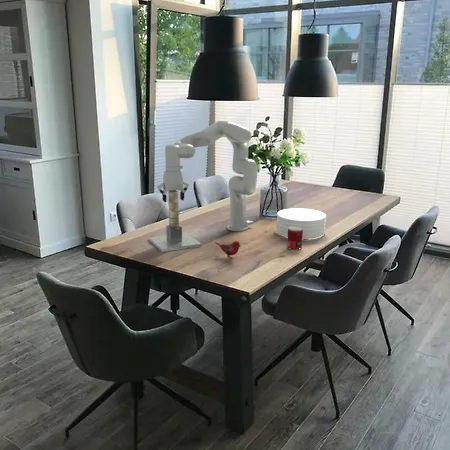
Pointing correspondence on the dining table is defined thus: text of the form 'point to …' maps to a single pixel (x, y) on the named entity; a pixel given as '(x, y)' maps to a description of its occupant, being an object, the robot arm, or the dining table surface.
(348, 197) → the dining table surface
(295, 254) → the dining table surface
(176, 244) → the metal stand
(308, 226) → the plate stack
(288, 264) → the dining table surface
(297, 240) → the canned food
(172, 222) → the ash post
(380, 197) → the dining table surface
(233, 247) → the decorative bird figurine
